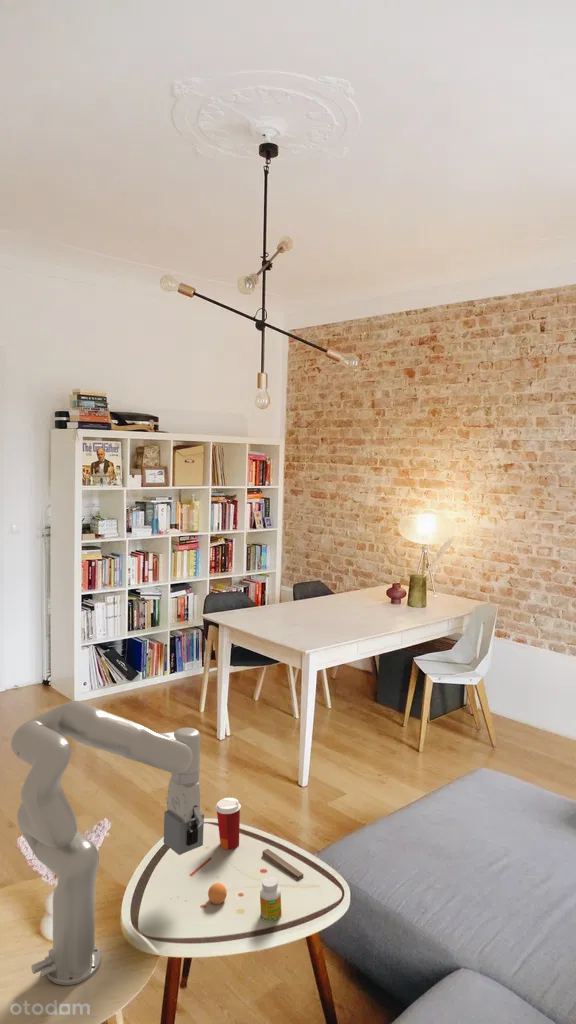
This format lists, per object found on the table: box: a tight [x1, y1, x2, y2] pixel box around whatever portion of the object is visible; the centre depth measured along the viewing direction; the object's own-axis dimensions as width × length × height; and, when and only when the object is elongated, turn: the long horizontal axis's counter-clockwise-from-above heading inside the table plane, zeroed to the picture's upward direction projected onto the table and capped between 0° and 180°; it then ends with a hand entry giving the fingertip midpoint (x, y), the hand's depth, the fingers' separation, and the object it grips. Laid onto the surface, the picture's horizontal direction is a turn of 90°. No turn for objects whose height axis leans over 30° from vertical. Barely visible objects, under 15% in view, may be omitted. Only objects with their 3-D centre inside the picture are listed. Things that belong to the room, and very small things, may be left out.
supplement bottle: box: [259, 876, 282, 922], centre depth 177 cm, size 5×5×10 cm
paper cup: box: [214, 797, 242, 851], centre depth 208 cm, size 8×8×14 cm
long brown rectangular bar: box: [261, 848, 304, 881], centre depth 198 cm, size 2×16×2 cm, turn 41°
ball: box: [207, 882, 228, 905], centre depth 183 cm, size 5×5×5 cm
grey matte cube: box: [163, 810, 205, 856], centre depth 186 cm, size 8×8×9 cm
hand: (183, 836), depth 186 cm, fingers closed on grey matte cube, 7 cm apart
